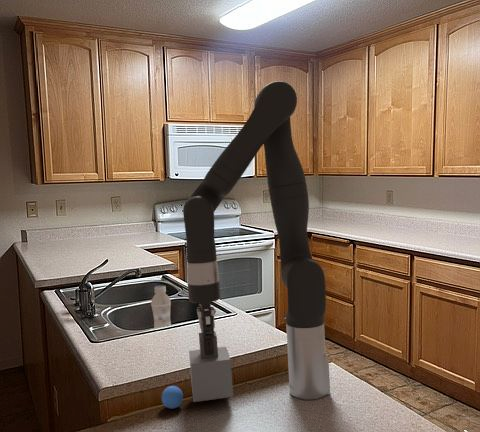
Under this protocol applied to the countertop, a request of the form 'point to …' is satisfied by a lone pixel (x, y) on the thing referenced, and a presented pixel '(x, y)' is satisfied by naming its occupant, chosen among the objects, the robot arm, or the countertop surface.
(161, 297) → the plastic bottle
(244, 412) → the countertop surface
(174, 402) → the ball
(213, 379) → the stepped gray cube pair
